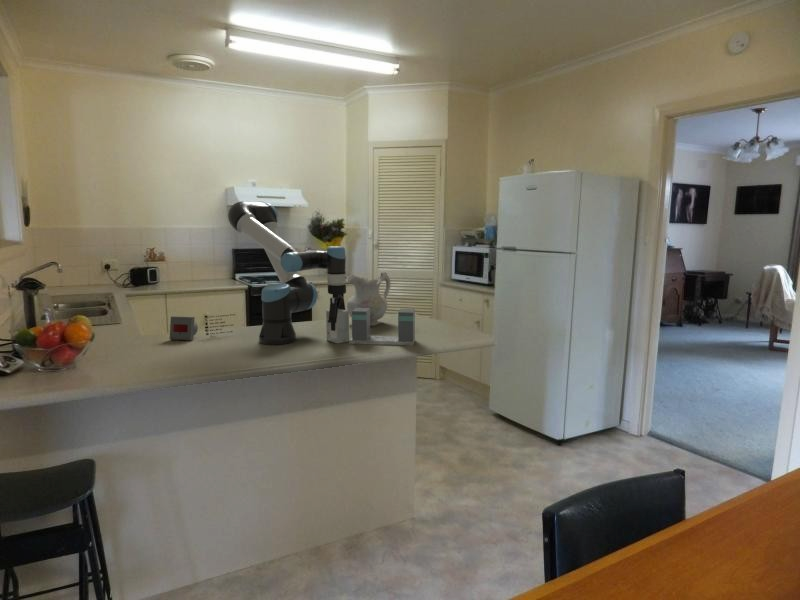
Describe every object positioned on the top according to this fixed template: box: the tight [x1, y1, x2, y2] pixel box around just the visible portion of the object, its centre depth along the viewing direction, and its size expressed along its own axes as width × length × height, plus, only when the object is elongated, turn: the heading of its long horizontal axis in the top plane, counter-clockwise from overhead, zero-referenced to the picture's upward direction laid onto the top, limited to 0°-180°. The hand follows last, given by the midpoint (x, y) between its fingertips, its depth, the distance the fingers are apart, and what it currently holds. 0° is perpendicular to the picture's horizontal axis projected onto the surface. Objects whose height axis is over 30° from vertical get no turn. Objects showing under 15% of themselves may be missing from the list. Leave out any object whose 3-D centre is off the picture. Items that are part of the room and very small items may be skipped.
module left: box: [351, 308, 371, 340], centre depth 212 cm, size 6×8×12 cm
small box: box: [325, 309, 350, 344], centre depth 214 cm, size 8×6×13 cm
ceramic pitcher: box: [346, 271, 391, 327], centre depth 247 cm, size 22×20×25 cm
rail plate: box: [349, 335, 416, 347], centre depth 212 cm, size 26×9×2 cm, turn 83°
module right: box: [397, 308, 416, 342], centre depth 210 cm, size 6×8×12 cm
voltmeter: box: [169, 313, 236, 341], centre depth 220 cm, size 27×11×10 cm, turn 118°
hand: (337, 334), depth 214 cm, fingers open, 13 cm apart
